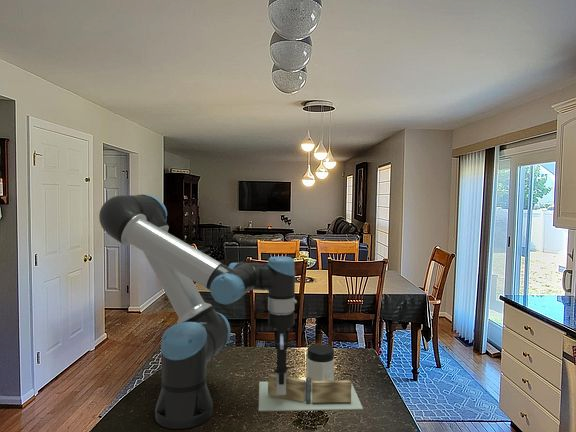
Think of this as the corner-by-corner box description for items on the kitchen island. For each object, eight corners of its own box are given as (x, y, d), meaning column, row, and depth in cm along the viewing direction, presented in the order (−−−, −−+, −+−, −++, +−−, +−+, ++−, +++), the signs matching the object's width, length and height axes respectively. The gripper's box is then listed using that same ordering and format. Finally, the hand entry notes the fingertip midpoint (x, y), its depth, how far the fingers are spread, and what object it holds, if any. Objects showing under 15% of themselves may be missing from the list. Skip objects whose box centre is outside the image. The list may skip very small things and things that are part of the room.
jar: (316, 396, 123) (317, 356, 122) (300, 385, 130) (301, 347, 129) (339, 388, 128) (340, 350, 127) (322, 378, 134) (324, 341, 134)
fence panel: (304, 399, 120) (305, 380, 120) (303, 402, 119) (303, 382, 118) (269, 392, 124) (269, 373, 124) (267, 394, 123) (267, 375, 122)
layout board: (258, 411, 115) (258, 409, 115) (259, 382, 132) (259, 381, 132) (363, 409, 116) (363, 408, 116) (350, 381, 133) (350, 380, 133)
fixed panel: (312, 402, 118) (312, 383, 118) (312, 400, 120) (312, 380, 119) (351, 402, 119) (351, 382, 119) (350, 399, 120) (350, 380, 120)
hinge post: (305, 405, 118) (306, 379, 118) (305, 402, 120) (305, 377, 119) (310, 405, 118) (311, 379, 118) (310, 402, 120) (310, 377, 119)
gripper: (295, 317, 112) (295, 404, 113) (293, 306, 125) (293, 384, 126) (267, 317, 112) (267, 404, 113) (268, 306, 125) (268, 384, 125)
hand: (281, 393), depth 119 cm, fingers closed
